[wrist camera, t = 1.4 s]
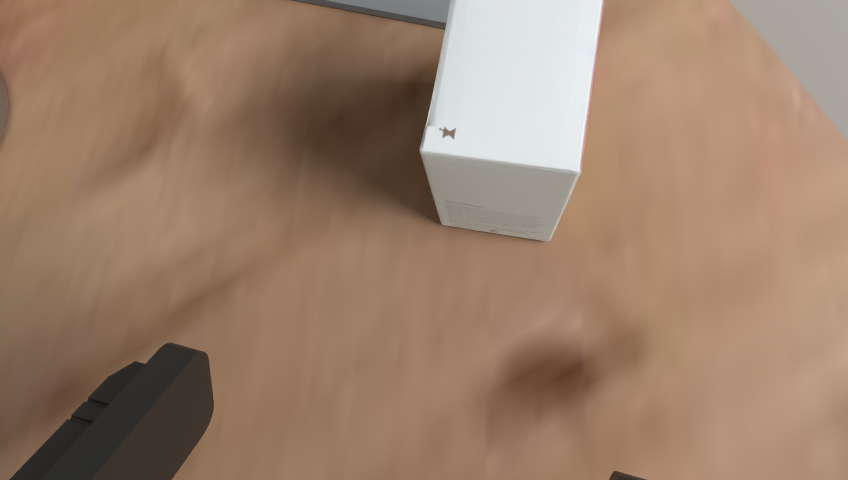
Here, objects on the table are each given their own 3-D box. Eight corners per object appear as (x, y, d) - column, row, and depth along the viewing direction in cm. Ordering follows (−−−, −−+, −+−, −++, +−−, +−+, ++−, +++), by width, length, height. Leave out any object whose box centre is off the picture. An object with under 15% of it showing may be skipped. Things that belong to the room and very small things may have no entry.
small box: (549, 244, 30) (582, 180, 20) (438, 226, 31) (416, 155, 21) (572, 95, 32) (613, -36, 22) (465, 81, 33) (457, -52, 22)
